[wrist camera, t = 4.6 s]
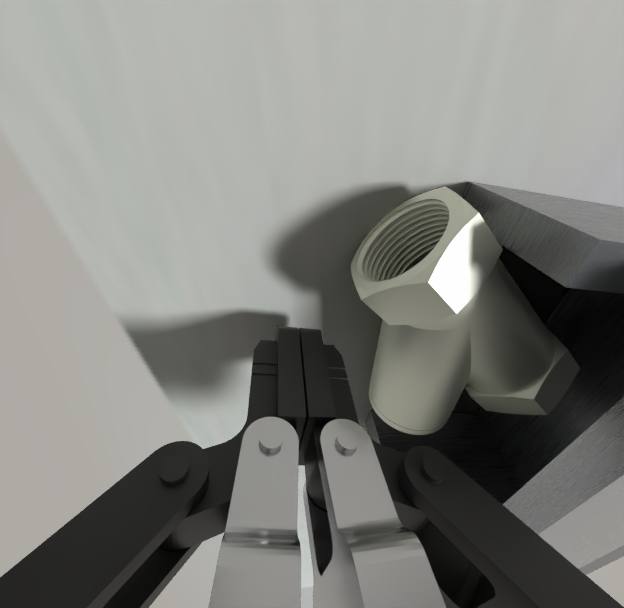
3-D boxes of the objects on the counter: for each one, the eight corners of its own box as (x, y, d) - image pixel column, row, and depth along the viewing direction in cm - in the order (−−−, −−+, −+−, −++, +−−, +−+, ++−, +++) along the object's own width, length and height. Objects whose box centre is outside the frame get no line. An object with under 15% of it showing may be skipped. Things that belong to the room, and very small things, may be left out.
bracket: (469, 181, 9) (742, 302, 4) (653, 212, 10) (1063, 338, 5) (365, 422, 16) (410, 591, 10) (484, 424, 17) (580, 577, 11)
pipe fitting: (396, 388, 15) (529, 315, 13) (421, 468, 12) (604, 394, 10) (278, 302, 12) (429, 173, 9) (272, 385, 9) (499, 225, 6)
